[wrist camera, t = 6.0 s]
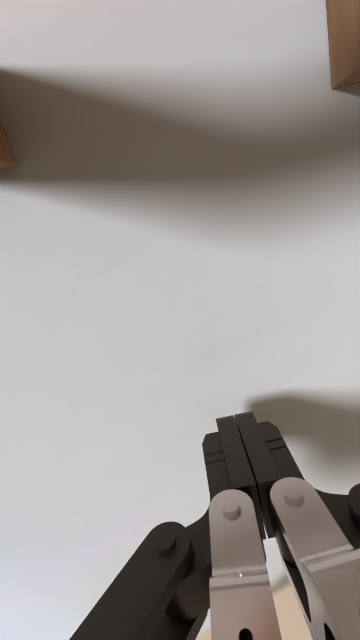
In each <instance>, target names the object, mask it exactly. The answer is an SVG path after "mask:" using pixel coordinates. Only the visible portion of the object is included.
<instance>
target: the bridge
mask: <svg viewBox="0 0 360 640" xmlns="http://www.w3.org/2000/svg"><path fill="white" fill-rule="evenodd" d="M326 8H327V24H328V39H329V55H330V70H331V86H332V89H333V88H337V87H341V86H345V85H349V84H353V83H357V82H360V0H326ZM14 166H16V164H15V161H14V158H13V156H12V153H11V150H10V147H9V144H8V141H7V138H6V136H5V133H4V130H3V127H2V124H1V121H0V170H2V169H6V168H10V167H14Z"/></svg>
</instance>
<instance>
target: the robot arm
mask: <svg viewBox="0 0 360 640" xmlns="http://www.w3.org/2000/svg"><path fill="white" fill-rule="evenodd" d="M234 417H235V419H234ZM216 422H217V427H218V431H219V432H215V433H210V434H206V436H205V438H204V441H203V443H202V446H203V453H204V459H205V466H206V472H207V479H208V485H209V492H210V505H209V508H208V510H207V511H206V513H205V514H204V515H203V517H201V518H200V519H199V520H198V521H196V522H195V523H193V524H191V525H189V526H187V527H186V528H185V527H184V526H183V525H181V524H180V523H177V522H165V523H162V524H160V525H158V526H156V527H155V528H154V529H152V530H151V532H150V533H149V534H148V535H147V537H146V538H145V539H144V541H143V542H142V543H141V545H140V546H139V547H138V549H137V550H136V551H135V553H134V554H133V555H132V557H131V558H130V559H129V561H128V562H127V563H126V565H125V566H124V567H123V569H122V570H121V571H120V573H119V574H118V575H117V577H116V578H115V579H114V581H113V582H112V583H111V585H110V586H109V587H108V589H107V590H106V591H105V593H104V594H103V595H102V597H101V598H100V599H99V601H98V602H97V603H96V605H95V606H94V607H93V609H92V610H91V611H90V613H89V614H88V615H87V617H86V618H85V619H84V621H83V622H82V623H81V625H80V626H79V628H78V629H77V630H76V632H75V633H74V634H73V636H72V637H71V638H70V640H195V639H196V637H197V635H198V633H199V631H200V629H201V627H202V625H203V623H204V621H205V618H206V616H207V612H208V609H209V608H210V613H211V635H212V640H282V639H281V634H280V629H279V624H278V619H277V615H276V610H275V605H274V600H273V595H272V591H271V586H270V581H269V576H268V572H267V567H266V555H265V550H264V544H263V540H264V539H266V535H265V530H266V533H267V536H268V538H273V537H276V540H277V543H278V546H279V549H280V555H281V561H282V564H283V566H284V569H285V571H286V574H287V576H288V579H289V581H290V583H291V586H292V588H293V591H294V593H295V596H296V598H297V601H298V603H299V605H300V608H301V610H302V613H303V615H304V618H305V620H306V623H307V625H308V627H309V630H310V633H311V636H312V639H313V640H360V484H357V485H355V486H354V487H352V488H351V490H350V491H349V494H348V495H339V494H330V493H325V492H322V491H319V490H317V489H315V488H314V487H313V486H312V485H311V484H310V483H308V482H307V481H305V479H304V478H303V476H302V474H301V472H300V470H299V468H298V466H297V464H296V463H295V461H294V459H293V457H292V455H291V453H290V451H289V449H288V448H287V445H286V443H285V441H284V440H283V437H282V436H281V434H280V432H279V430H278V428H277V427H275V426H274V425H273V424H271V423H270V422H269V421H266V422H261V423H257V421H256V419H255V417H254V414H253V412H252V411H250V412H245V413H241V414H236V415H234V416H233V415H232V416H227V417H222V418H218V419H216ZM263 523H264V524H263ZM264 526H265V530H264Z"/></svg>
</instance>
